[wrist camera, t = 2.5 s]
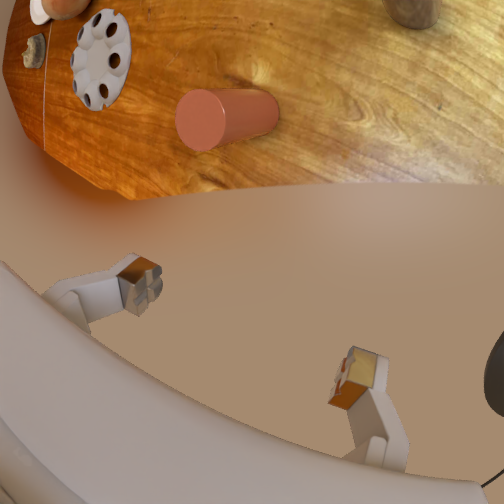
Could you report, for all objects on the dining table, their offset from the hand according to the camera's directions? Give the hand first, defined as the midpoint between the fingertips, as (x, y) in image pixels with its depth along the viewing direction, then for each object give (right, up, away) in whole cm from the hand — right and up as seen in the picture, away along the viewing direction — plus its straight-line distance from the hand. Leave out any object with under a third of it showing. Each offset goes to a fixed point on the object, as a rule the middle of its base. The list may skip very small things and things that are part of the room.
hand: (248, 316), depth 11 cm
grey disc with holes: (-26, +36, +28) cm, 52 cm away
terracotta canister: (+1, +18, +20) cm, 27 cm away
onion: (-30, +50, +22) cm, 62 cm away
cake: (-53, +53, +36) cm, 83 cm away
